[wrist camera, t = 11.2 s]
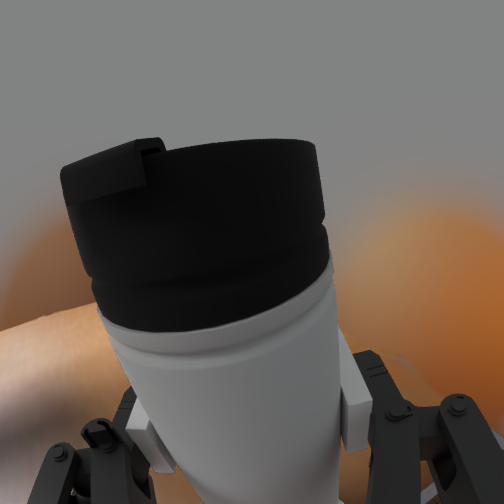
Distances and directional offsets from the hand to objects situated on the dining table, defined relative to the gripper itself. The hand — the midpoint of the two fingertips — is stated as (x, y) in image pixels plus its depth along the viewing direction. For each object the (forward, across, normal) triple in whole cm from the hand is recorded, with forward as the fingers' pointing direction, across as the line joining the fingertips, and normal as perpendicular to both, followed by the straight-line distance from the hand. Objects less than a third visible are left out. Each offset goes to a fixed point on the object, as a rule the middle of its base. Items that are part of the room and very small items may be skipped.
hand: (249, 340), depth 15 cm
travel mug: (-5, 0, -11) cm, 12 cm away
